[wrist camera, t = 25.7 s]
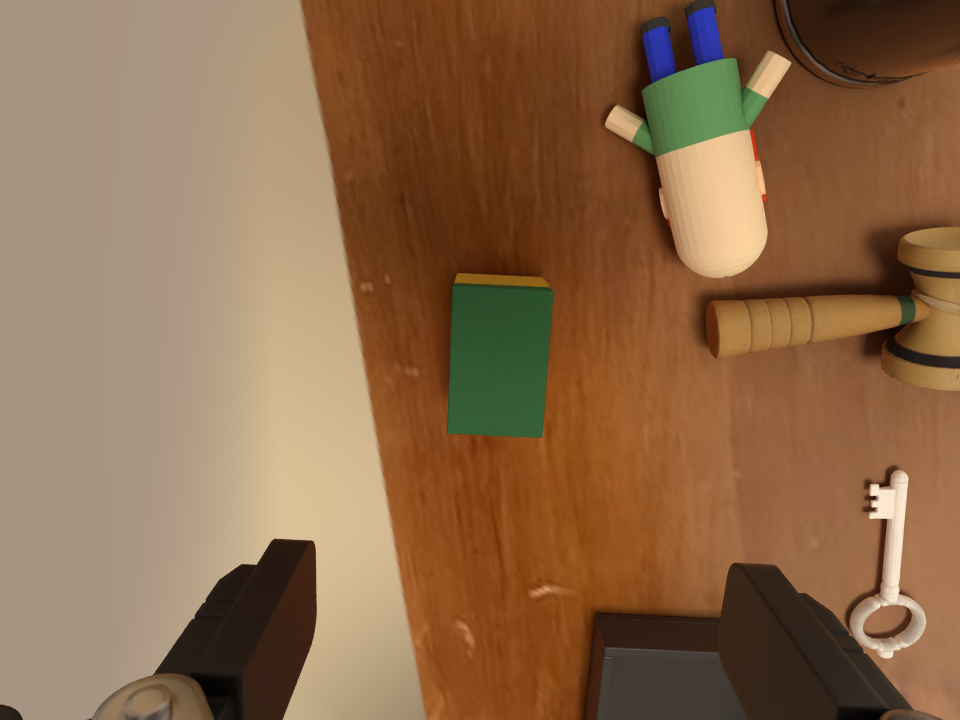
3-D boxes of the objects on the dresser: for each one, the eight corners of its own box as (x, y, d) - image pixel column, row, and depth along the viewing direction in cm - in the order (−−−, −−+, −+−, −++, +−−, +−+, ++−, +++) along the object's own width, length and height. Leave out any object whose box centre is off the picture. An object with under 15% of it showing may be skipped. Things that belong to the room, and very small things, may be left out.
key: (844, 652, 38) (915, 648, 38) (852, 663, 37) (925, 659, 37) (856, 469, 35) (934, 464, 35) (866, 477, 34) (945, 471, 34)
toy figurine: (601, 56, 32) (653, 285, 34) (574, 43, 28) (634, 302, 30) (778, -16, 28) (823, 249, 30) (773, -43, 24) (826, 263, 26)
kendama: (705, 399, 36) (1071, 364, 32) (730, 419, 29) (1185, 379, 26) (692, 262, 35) (1061, 213, 32) (714, 253, 29) (1176, 191, 26)
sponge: (456, 272, 33) (452, 285, 28) (543, 276, 33) (553, 290, 28) (452, 400, 34) (446, 434, 30) (534, 404, 34) (542, 438, 30)
